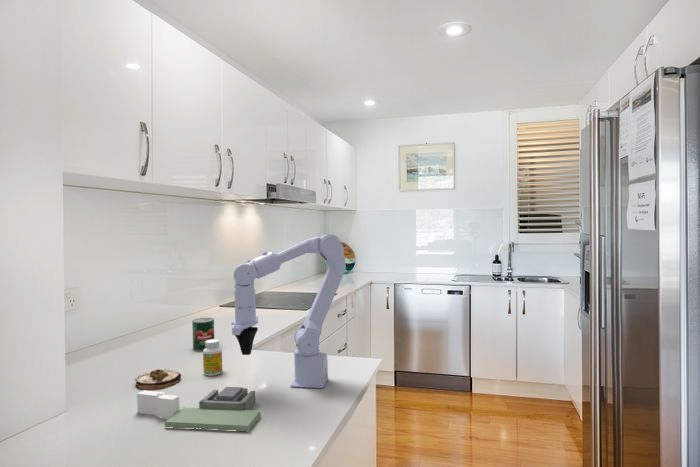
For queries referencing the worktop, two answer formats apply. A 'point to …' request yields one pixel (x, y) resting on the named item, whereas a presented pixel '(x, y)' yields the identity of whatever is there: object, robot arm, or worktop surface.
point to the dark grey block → (231, 394)
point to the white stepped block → (157, 403)
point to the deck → (217, 414)
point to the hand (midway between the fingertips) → (246, 354)
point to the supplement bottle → (212, 358)
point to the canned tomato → (202, 332)
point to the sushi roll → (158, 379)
